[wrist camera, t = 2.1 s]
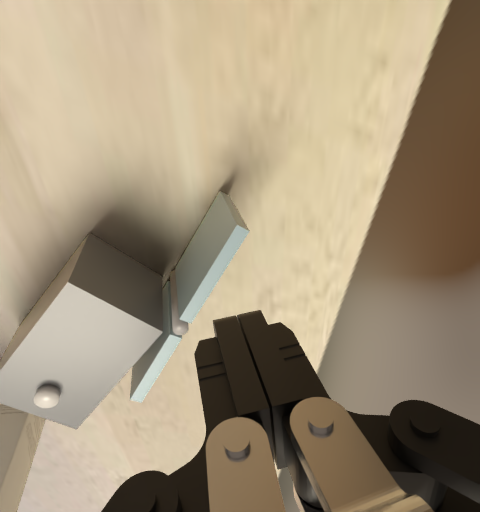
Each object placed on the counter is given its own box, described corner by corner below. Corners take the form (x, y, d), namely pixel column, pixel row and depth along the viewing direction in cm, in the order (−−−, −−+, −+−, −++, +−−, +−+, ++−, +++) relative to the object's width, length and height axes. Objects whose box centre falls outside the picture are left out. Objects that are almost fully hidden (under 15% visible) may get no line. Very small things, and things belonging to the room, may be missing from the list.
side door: (218, 189, 37) (236, 224, 29) (229, 195, 38) (250, 231, 29) (134, 334, 43) (128, 399, 35) (145, 338, 44) (142, 402, 35)
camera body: (89, 232, 37) (65, 287, 28) (163, 276, 41) (164, 338, 31) (7, 341, 41) (-38, 422, 31) (82, 372, 45) (61, 452, 35)
